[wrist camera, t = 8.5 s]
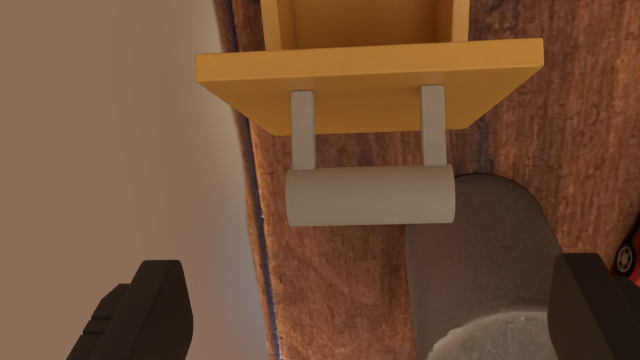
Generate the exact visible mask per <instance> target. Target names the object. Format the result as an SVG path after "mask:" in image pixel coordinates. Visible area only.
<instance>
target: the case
mask: <svg viewBox="0 0 640 360" xmlns="http://www.w3.org/2000/svg"><path fill="white" fill-rule="evenodd" d="M260 3H261V13H262V22H263V31H264V41H265V50H266V51H273V50H294V49H315V48H336V47H356V46H377V45H398V44H419V43H440V42H461V41H468V30H469V9H470V0H260Z"/></svg>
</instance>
